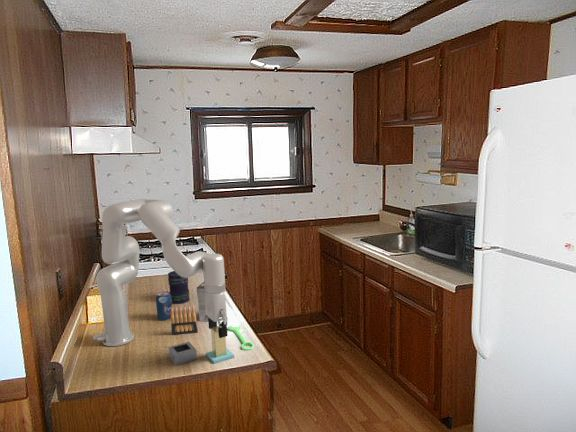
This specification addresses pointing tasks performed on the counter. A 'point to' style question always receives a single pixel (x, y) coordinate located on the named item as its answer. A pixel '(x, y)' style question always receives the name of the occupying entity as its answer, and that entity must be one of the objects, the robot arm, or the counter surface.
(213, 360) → the teal board
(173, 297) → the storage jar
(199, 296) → the coffee box
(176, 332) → the ammunition clip
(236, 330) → the wrench
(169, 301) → the soda can
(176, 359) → the socket block
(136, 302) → the counter surface
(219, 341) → the brass peg
